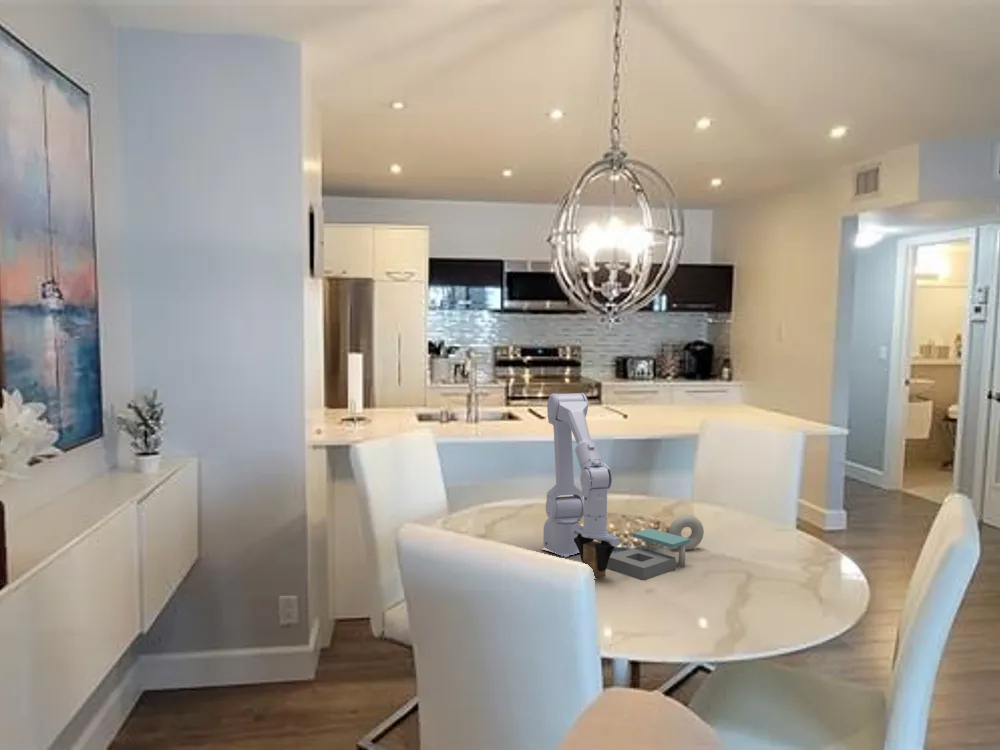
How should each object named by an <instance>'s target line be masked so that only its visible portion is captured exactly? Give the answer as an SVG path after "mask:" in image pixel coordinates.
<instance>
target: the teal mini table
mask: <svg viewBox="0 0 1000 750" xmlns="http://www.w3.org/2000/svg"><path fill="white" fill-rule="evenodd" d="M632 538H636V539H639V540H642V541H645V542H644V545H645V544H646V545H647V548H646V549H648V550H651V551H652V543H653V544H656V545H661V546H664V547H666V548H667V547H668V548H671V549H674V548H677V547H678V546H679V548H678V566H679V567H680V566H683V567H682V568H684V567H686V550H685V544H688V543H690V539H688V538H687V537H684V536H682V537H681V536H677V535H673V534H670V533H669V532H665V531H662V530H659V529H654V528H650V527H649V528H646V529H643V530H638V531H636V532H632Z"/></svg>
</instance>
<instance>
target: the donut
mask: <svg viewBox="0 0 1000 750" xmlns="http://www.w3.org/2000/svg"><path fill="white" fill-rule="evenodd" d="M685 528H689V529H691V532H690V535H689V536H687V537H686V538H688V539H690V543H688V544H685V551H689V550H692V549H693V550H694V549H695V548H696V547H698V546H699V545H700V544H701V542H702V540H703V539H704V534H705V532H704V526H703V524H702V521H700V520H699V518H698V517H696V516H693V515H691V514H683V515H680V516H677V517H676V518H675V519H674V520H673V521H672V522H671V524H670V526H669V529H668V533H670V534H673V535H677V536H681V537H683V536H682V531H683V529H685ZM676 548H678V549H679V546H678V547H676Z"/></svg>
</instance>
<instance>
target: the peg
mask: <svg viewBox="0 0 1000 750" xmlns="http://www.w3.org/2000/svg"><path fill="white" fill-rule="evenodd" d="M598 543H600V541H596V540H593V542H589V543H585V544H583V563H585V564H588V565H589V566H590V567H591V568H592V569H593V572H594V576H595V578H597V579H600V577H601V578H603V576H604V577H606V571H607V569H606V570H605V571H601V572H600V571H599V570H598V555H597V550H596V547H595V544H598ZM597 579H596V580H597Z"/></svg>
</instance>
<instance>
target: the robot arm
mask: <svg viewBox="0 0 1000 750" xmlns="http://www.w3.org/2000/svg"><path fill="white" fill-rule="evenodd" d="M546 405H547V406H546V407H547V419H548V420H547V422H548V423H549V424H551V425H552V429H553V443H554V445H553V446H554V462H555V463H554V465H555V468H554V469H555V485H553V487H552V488H551V489H549V490H548V491H547V492H546V500H545V501H546V502H545V513H546V517H547V519H546V521H545V522H544V524H543V538H542V539H543V541H542V542H543V544H542V545H543V546H542V548H543V547H545V548H547V549H549V550H551V551H553V553H555V552H556V554H558V555H562V556H560V557H561V558H569V555H573V556H575V555H574V554H577V553H580V554H579V556H580V559H581V560H580V561H581V563H582V562H583V544H585V543H589V542H593V541H597V542H599V543H598V544H595V547H596V550H597V555H598V570H599V571H600V572H601V571H605V570H606V571H607V569H608V568H607V564H608V561H609V558H610V555H612V553H613V551H614V549H615V548H616V547H618V546H620V544H621V541H620V539H621V538H620V537H619V536H616V535H615V534H613V533H611V532H609V531H607V519H608V517H607V516H608V489H610V488H611V487H612V483H613V478H612V477H613V476H612V472H611V468H610V466H608V465H607V464H606V462H604V461H603V459H602V457H601V452H600V451H599V447H598V444H597V443H596V441H593V440H591V436H590V432H589V426H588V423H587V419H586V417H587V416H588V415H587V414H588V410H589V409H588V408H589V401H588V397H587V395H586V394H585V393H584V392H579V393H578V392H577V393H551V394H550V395H549V397H548V399H547V403H546ZM572 437H574V439H575V442H576V443H577V444H576V446H575V449H574V450H575V452H574V451H573V438H572ZM573 452H574V453H575V454H576V458H577V462H578V465H579V468H580V470H581V473H580V476H579V477H580V478H579V481H580V485H581V489H580V488H579V487H577V486H576V485H575V475H574V457H573V456H574V455H573V454H574V453H573ZM582 519H583V525H579V522H581V520H582ZM558 555H557V556H558ZM577 555H578V554H577ZM563 556H566V557H563ZM606 571H605V572H606Z"/></svg>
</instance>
